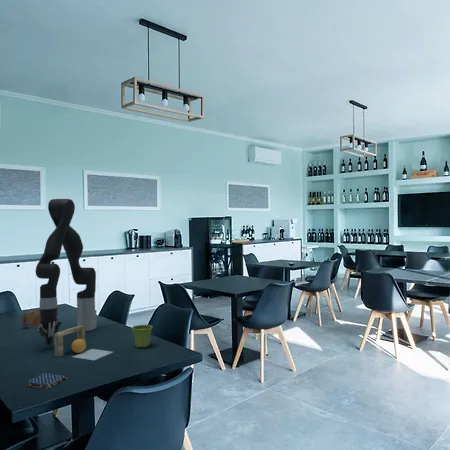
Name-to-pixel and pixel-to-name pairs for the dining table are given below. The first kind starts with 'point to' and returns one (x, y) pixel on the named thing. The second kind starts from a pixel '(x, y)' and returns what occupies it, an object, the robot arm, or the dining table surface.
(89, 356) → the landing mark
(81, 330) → the bridge
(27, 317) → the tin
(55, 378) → the woven mat
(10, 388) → the dining table surface
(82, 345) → the ball
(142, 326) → the plant pot
